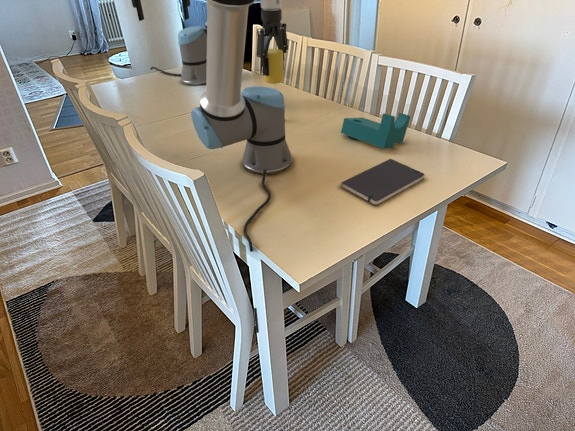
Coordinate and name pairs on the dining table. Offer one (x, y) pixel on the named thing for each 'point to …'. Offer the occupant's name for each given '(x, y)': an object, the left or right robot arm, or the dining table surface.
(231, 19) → the right robot arm
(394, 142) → the teal l-shaped bracket
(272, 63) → the can
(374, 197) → the notebook
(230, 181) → the dining table surface
